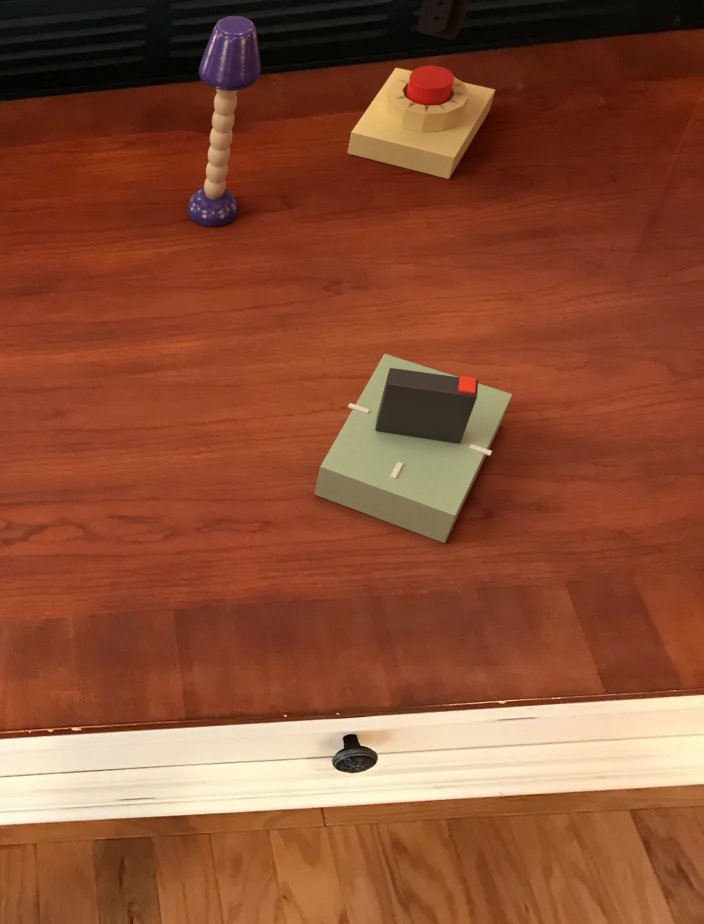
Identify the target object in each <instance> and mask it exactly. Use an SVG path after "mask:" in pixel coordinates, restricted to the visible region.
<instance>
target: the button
mask: <svg viewBox="0 0 704 924" xmlns="http://www.w3.org/2000/svg"><path fill="white" fill-rule="evenodd" d="M411 71H412V73H411V74H410V78H409V83H408V87H407V92H406V96H407V98H408V99H409V100H411V101H412V102H414V103H417V104H421V105H425V106H432V105H442V104H444V103H446V102H447V101H448V100H449V98H450V94H451V90H452V86H453V82H454V77H455V76H454V74H453V72H451V70H449V69H448V68H445V67H443V66H438V65H424V66H419V67H417V68H415V69H413V70H411Z"/></svg>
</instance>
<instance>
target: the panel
mask: <svg viewBox="0 0 704 924" xmlns="http://www.w3.org/2000/svg"><path fill="white" fill-rule="evenodd" d="M390 368H396V369H403V370H410V371H418V372H425V373H432V374H439V375H446V376H453V377H458V376H456V375H453V374H451V373H447V372H444V371H442V370H438V369H435V368H431V367H428V366H425V365H423V364H419V363H415V362H412V361H409V360H406V359H403V358H400V357H397V356H393V355H391V354H387V353H384V354H383V355H382V358H380V361H379V362H378V364H377V366H376V367H375V369H374V371H373V373H372V374H371V377H370V379H369V380H368V382H367V384H366V385H365V387H364V389H363V391H362V393H361V394H360V396H359V398H358V399H357V401H356V403H351V402H349V403H348V405H347V408H348V409H350V410H351V412H350V414H349V415H348V417H347V419H346V421H344V424H343V426H342V427H341V430H340V431H339V433H338V434H337V437H336V438H335V440H334V442H333V444H332V445H331V447H330V448H329V450H328V452H327V454H326V456H325V458H324V459H323V460H322V463H321V465H320V467H319V471H318V475H317V479H316V480H317V481H316V483H315V484H316V485H315V489H314V495H315V496H317V497H320V498H322V499H324V500H328V501H330V502H333V503H336V504H339V505H341V506H344V507H346V508H349V509H351V510H355V511H357V512H360V513H363V514H365V515H367V516H371V517H373V518H375V519H378V520H381V521H383V522H387V523H389V524H391V525H394V526H397V527H400V528H402V529H405V530H408V531H410V532H413V533H416V534H419V535H421V536H424V537H426V538H428V539H432V540H434V541H438V542H440V543H442V544H446V542H447V540H448V538H449V536H450V533H451V531H452V529H453V527H454V526H455V523H456V521H457V519H458V517H459V515H460V512H461V510H462V508H463V506H464V504H465V503H466V500H467V497H468V495H469V493H470V492H471V489H472V487H473V484H474V483H475V481H476V478H477V476H478V474H479V472H480V470H481V468H482V466H483V463H484V461H485V459H486V457H487V456H488V457H490V456H491V455H492V452H493V450H491V449H490V448H491V446H492V444H493V443H494V441H495V438H496V436H497V434H498V431H499V429H500V428H501V425H502V423H503V420H504V417H505V415H506V412H507V410H508V408H509V405H510V402H511V400H512V398H513V393H510V392H507V391H504V390H502V389H501V390H500V389H497V388H494V387H492V386H488V385H485V384H482V383H479V382H478V392H477V399H476V401H475V404H474V407H473V410H472V413H471V415H470V418H469V421H468V424H467V426H466V429H465V432H464V435H463V438H462V440H461V443H452V442H446V441H439V440H433V439H426V438H419V437H413V436H406V435H400V434H393V433H387V432H380V431H376V430H375V427H376V420H377V414H378V410H379V406H380V402H381V399H382V395H383V391H384V387H385V384H386V380H387V376H388V372H389V369H390Z"/></svg>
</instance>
